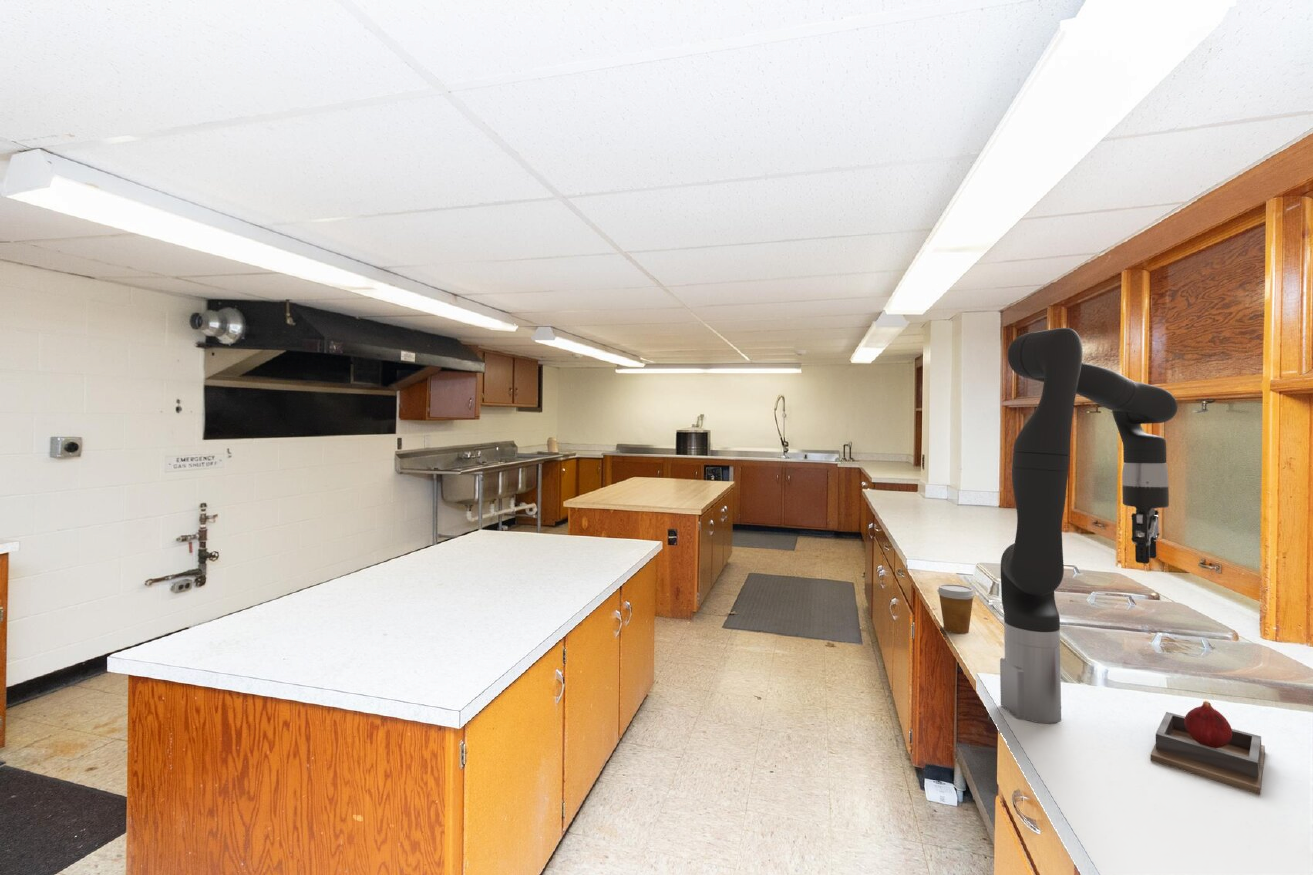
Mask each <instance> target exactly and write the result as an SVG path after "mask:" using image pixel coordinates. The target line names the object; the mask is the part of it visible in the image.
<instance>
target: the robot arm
mask: <svg viewBox="0 0 1313 875" xmlns="http://www.w3.org/2000/svg"><path fill="white" fill-rule="evenodd" d="M1083 349H1084V348H1083V343H1082V338H1081V337H1080V335H1079V334H1078V332H1077V331H1075V330H1074V329H1072V328H1069V327H1061V328H1060V327H1059V328H1053V329H1047V330H1039V331H1034V332H1028V333H1024V334H1022V335H1019V336H1018V337H1015V339H1014V340H1013V341H1012V342H1011V344H1010V345H1009V348H1008V350H1007V360H1008V363H1009V364H1008V365H1009V366H1010V368H1011V370H1012V371H1013V372H1014V373H1015V374H1016V375H1018V376H1020V377H1023V378H1026V379H1029V380H1034V381H1037V382H1041V383H1043V385H1042V386H1043V387H1042V391H1041V396H1040V400H1039V403H1038V404H1037V407H1036V409H1035V410H1034V412H1033V413H1032V415H1031V416H1030V417H1029V418H1028V420H1027V422H1025V424H1024V425H1023V427H1022V428H1021V430H1020V431H1019V433H1018V435H1017V436H1016V438H1015V441H1014V445H1013V450H1012V451H1013V452H1012V461H1011V462H1012V463H1011V464H1012V466H1011V482H1012V490H1013V497H1014V502H1015V508H1016V517H1017V520H1016V522H1017V523H1016V531H1015V532H1016V533H1015V540H1014V543H1011V544H1010V545H1009V546H1007V547H1006V548H1005V549H1004V550H1003V553H1002V555H1001V558H1000V592H1001V593H1000V594H1001V606H1002V610H1003V619H1004V620H1003V621H1004V622H1003V624H1004V625H1003V626H1004V636H1003V638H1004V642H1003V643H1004V657H1001V658H1000V659H999V674H1000V675H999V676H1000V678H999V681H1000V685H999V687H1000V689H999V690H1000V706H1002V707H1003V708H1005V709H1006V710H1007V711H1008V712H1009V713H1010V714H1011V715H1013V716H1014V717H1016V719H1018V720H1019V719H1020V720H1026V721H1030V722H1035V723H1041V724H1042V723H1043V724H1053V723H1057V722H1061V720H1062V691H1061V690H1062V688H1061V687H1062V686H1061V684H1062V683H1061V681H1062V680H1061V678H1062V677H1061V675H1062V674H1061V620H1060V617H1061V616H1060V614H1059V611H1058V608H1057V604H1056V600H1055V599H1056V598H1055V591H1056V589H1058V588H1059V586H1060V585H1061V583H1062V581H1063V578H1064V574H1065V573H1064V571H1065V568H1064V550H1063V518H1064V512H1065V507H1066V506H1065V505H1066V497H1067V489H1068V487H1067V486H1068V479H1069V472H1070V470H1069V468H1070V460H1071V458H1070V456H1071V437H1072V436H1071V435H1072V425H1073V418H1074V416H1073V415H1074V408H1075V407H1074V406H1075V402H1076V395H1079V396H1080V397H1083V398H1085V399H1088V401H1092V402H1094V404H1098V405H1099V406H1101V407H1103V408H1106V410H1107V409H1108V410H1109V411H1111V412H1112V416H1113V419H1114V422H1115V425H1116V427H1117V431H1118V433H1119V436H1120V439H1121V442H1122V450H1123V451H1122V452H1123V463H1122V464H1123V466H1122V472H1121V481H1122V482H1121V484H1122V487H1121V489H1122V490H1121V491H1122V493H1121V494H1122V504H1123V506H1126V507H1132V508H1133V507H1134V508H1135V513H1134V512H1132V514H1131V516H1130V517H1131V534H1132V535H1131V542H1132V543H1133V544H1134V546H1135V547H1134V548H1135V549H1134V550H1135V552H1134V553H1135V556H1134V557H1135V560H1134V561H1135V562H1136V563H1138V564H1149V563H1150V559H1156V558H1157V541H1158V539H1159V536H1160V524H1159V523H1160V516H1159V512H1160V511H1159V509H1166V508H1168V507H1169V505H1170V495H1169V493H1170V492H1169V490H1170V488H1169V470H1168V466H1167V442H1166V439H1165V438H1164V437H1162V436H1160V435H1155V434H1150V433H1147V432H1145V431H1144V429H1143V427H1142V425H1145V424H1146V425H1147V424H1162V423H1166V422H1168V421H1170V420H1172V419H1173V418H1174V417H1175V416H1176V414H1177V413H1178V402H1177V399H1176V398H1175V396H1174V395H1173V394H1172V393H1171V392H1169V391H1168V390H1166V389H1164V388H1162V387H1159V386H1155V385H1152V384H1148V383H1143V382H1138V381H1134V380H1132V379H1130V378H1128V377H1127V376H1124V375H1123V374H1121V373H1119V372H1117V371H1115V370H1112V369H1109V368H1107V367H1102V366H1099V365H1094V364H1091V363H1090V364H1089V363H1086V362H1083V352H1084V351H1083Z"/></svg>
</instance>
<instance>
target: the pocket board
mask: <svg viewBox="0 0 1313 875" xmlns="http://www.w3.org/2000/svg"><path fill="white" fill-rule="evenodd" d="M1185 716H1186V715H1185ZM1185 716H1184V715H1181V714H1176V713H1173V712H1169V711H1166V712H1165V714H1164V715H1163V718H1162V720H1161V722H1160V724H1159V726H1158V728H1157V730H1156V732H1155V743H1154V746H1153V748H1152V751H1151V752H1150V758H1149V759H1150V761H1151V762H1154V761H1155V762H1156V763H1157V764H1162V765H1165V766H1167V765H1168V766H1167V767H1171V768H1174V769H1176V770H1180V771H1184V772H1187V773H1190V774H1193V775H1196V776H1200V777H1203V778H1206V779H1210V780H1212V781H1215V782H1219V783H1222V784H1224V785H1228V786H1231V787H1235V788H1238V789H1241V790H1244V791H1248V792H1251V793H1254V794H1256V795H1257V794H1258V795H1261V790H1262V789H1261V788H1262V780H1263V772H1264V762H1265V754H1266V752H1265V751H1266V746H1265V745H1263V744H1262V736H1261V735H1257V734H1255V733H1249V732H1246V731H1242V730H1239V729H1235V728H1231V729H1232V738H1231V740H1230V742H1229V743H1228V744H1227V745H1225V746H1223V747H1220V748H1212V747H1208V746H1205V745H1201V744H1199V743H1198V742H1196V741H1195V740H1194V739H1193V738H1192V737H1191V736H1190V735H1189V733H1188V731H1187V729H1186V727H1185V723H1184V721H1185ZM1155 762H1154V763H1155Z"/></svg>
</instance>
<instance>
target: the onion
mask: <svg viewBox="0 0 1313 875" xmlns="http://www.w3.org/2000/svg"><path fill="white" fill-rule="evenodd" d="M1184 723H1185V727H1186V729H1187V731H1188V733H1189V735H1190V736H1191V737H1192V738H1193V739H1194V740H1195V741H1196V742H1198V743H1199V744H1201V745H1205V746H1208V747H1212V748H1220V747H1223V746H1225V745H1227V744H1228V743H1229V742H1230V740H1231V738H1232V729H1233V728H1232V726H1231V724H1230V722H1229V721H1228V720H1227V719H1226V717H1225V716H1224V715H1223V714H1222V713H1221V712H1219V711H1218V710H1216V708H1214V707H1213V706H1212V704H1211V703H1210V702H1209V701H1208V700H1204V701H1203V702H1202V705H1201V706H1200V705H1199V706H1197V707H1194V708H1192V709H1191V710H1190V711H1188V712H1187V713H1186V715H1185V721H1184Z"/></svg>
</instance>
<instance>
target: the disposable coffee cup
mask: <svg viewBox="0 0 1313 875" xmlns="http://www.w3.org/2000/svg"><path fill="white" fill-rule="evenodd" d="M936 591H937V594H938V596H939V603H940V607H941V608H940V609H941V617H942V623H943V624H942V625H943V629H944V630H945V631H947V632H950V633H956V634H968V633H969V631H970V625H971V616H972V610H973V601H974V598H975V595H976V593H975V592H974V589H973V588H972V587H970V586H967V585H962V584H950V583H947V584H940V585H939V586H938V589H937V590H936Z"/></svg>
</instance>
